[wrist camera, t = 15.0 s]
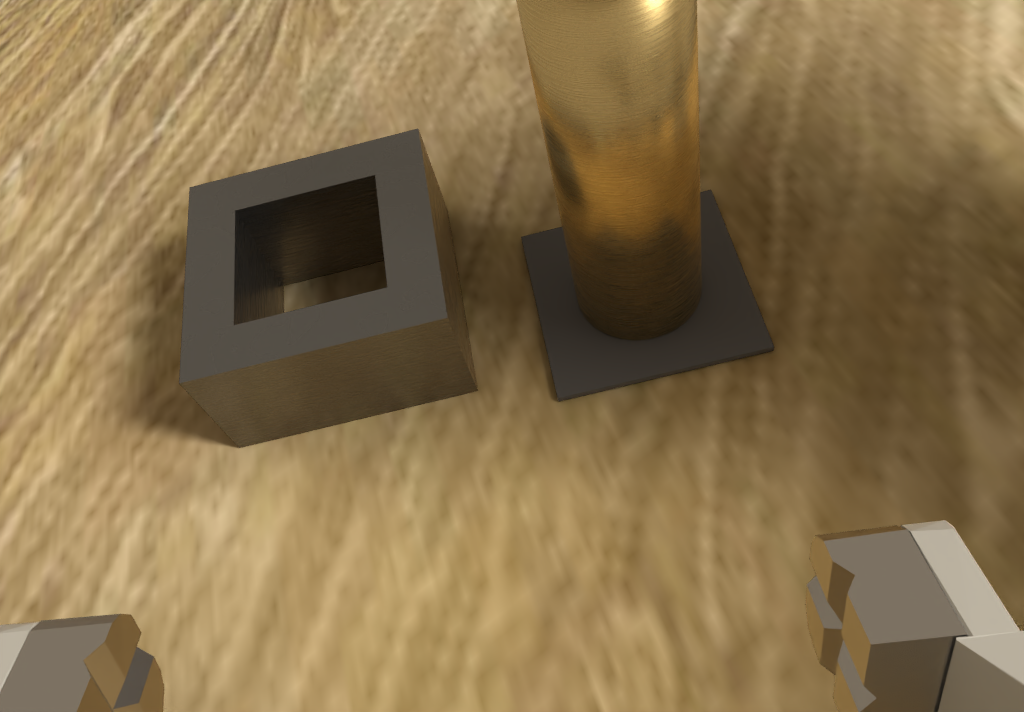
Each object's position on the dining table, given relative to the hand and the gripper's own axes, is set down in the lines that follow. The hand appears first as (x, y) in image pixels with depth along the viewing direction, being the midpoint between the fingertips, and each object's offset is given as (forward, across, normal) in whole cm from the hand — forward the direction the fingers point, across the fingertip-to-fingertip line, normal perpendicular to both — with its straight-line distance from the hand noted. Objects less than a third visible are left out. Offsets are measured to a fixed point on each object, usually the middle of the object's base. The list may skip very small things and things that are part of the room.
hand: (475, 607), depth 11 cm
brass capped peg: (+31, +6, -14) cm, 34 cm away
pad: (+31, +6, -14) cm, 35 cm away
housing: (+33, -8, -15) cm, 37 cm away
